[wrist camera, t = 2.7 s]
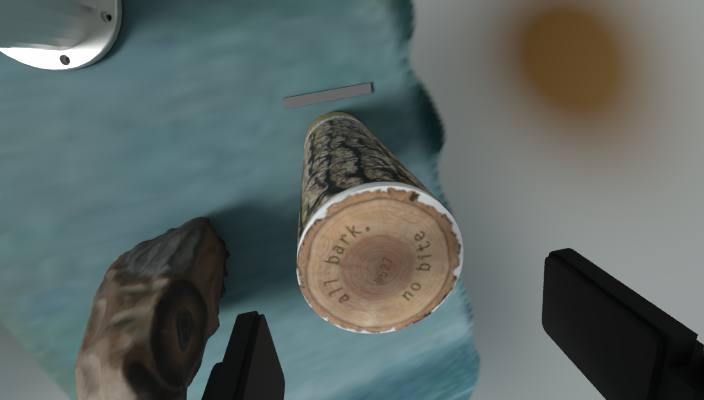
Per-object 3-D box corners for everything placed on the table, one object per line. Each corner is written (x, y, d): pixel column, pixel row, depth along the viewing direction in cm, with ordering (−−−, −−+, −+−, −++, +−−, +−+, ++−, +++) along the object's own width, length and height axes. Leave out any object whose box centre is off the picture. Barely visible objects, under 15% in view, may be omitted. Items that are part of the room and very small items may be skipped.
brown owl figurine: (210, 204, 38) (113, 335, 19) (269, 287, 42) (238, 457, 24) (113, 254, 38) (-72, 426, 20) (182, 330, 43) (84, 527, 24)
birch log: (297, 162, 37) (275, 316, 14) (315, 101, 35) (326, 162, 12) (355, 180, 39) (424, 346, 15) (376, 122, 36) (492, 213, 13)
